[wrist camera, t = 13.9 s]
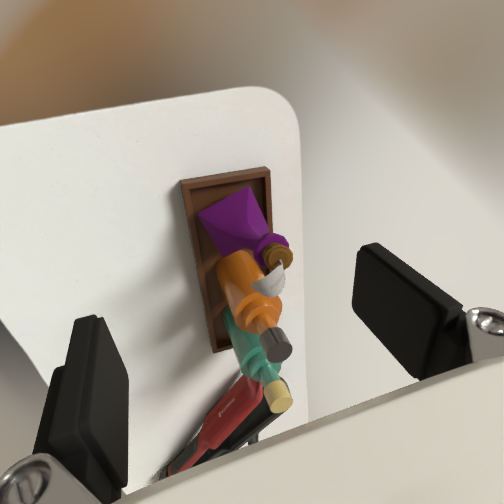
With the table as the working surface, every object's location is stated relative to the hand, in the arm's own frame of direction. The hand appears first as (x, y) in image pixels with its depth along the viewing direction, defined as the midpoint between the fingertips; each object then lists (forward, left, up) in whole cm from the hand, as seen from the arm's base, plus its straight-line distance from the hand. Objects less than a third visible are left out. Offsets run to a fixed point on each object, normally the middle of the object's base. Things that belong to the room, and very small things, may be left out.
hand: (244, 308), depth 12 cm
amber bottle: (+9, +18, -32) cm, 38 cm away
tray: (+9, +18, -33) cm, 39 cm away
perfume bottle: (+3, +12, -32) cm, 35 cm away
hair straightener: (+41, +39, -33) cm, 66 cm away
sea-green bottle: (+16, +25, -32) cm, 43 cm away
